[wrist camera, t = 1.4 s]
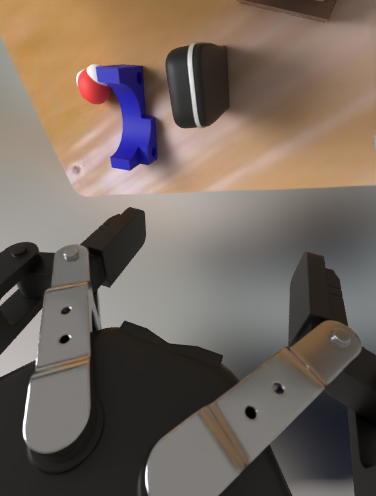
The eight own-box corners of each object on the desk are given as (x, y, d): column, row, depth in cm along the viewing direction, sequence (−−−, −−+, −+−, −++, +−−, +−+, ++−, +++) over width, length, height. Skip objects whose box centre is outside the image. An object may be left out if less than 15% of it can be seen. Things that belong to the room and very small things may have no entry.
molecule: (109, 108, 38) (92, 113, 35) (83, 83, 37) (63, 86, 34) (123, 78, 35) (105, 80, 32) (95, 50, 34) (74, 50, 31)
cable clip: (157, 158, 40) (139, 172, 36) (132, 154, 41) (111, 167, 37) (152, 66, 33) (129, 69, 28) (122, 64, 34) (95, 66, 29)
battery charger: (196, 48, 30) (155, 48, 22) (227, 42, 29) (197, 39, 20) (202, 113, 34) (170, 134, 26) (230, 110, 33) (206, 132, 24)
